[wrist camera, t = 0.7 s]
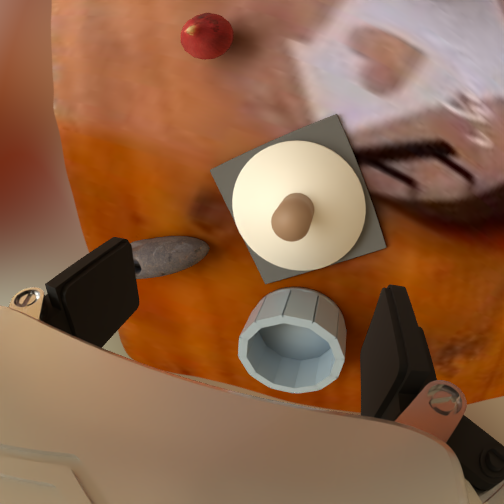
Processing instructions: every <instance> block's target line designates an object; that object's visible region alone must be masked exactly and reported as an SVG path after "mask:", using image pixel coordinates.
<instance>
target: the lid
mask: <svg viewBox="0 0 504 504" xmlns="http://www.w3.org/2000/svg"><path fill="white" fill-rule="evenodd" d="M232 208H233V215H234V219H235V222H236V225H237V228H238V230H239V232H240V234H241V236H242V237H243V239H244V240H245V242H246V243H247V244H248V246H249V247H250V248H251V249H252V250H253V251H254V252H255V253H257V254H258V255H259V256H260V257H262V258H263V259H265V260H266V261H268V262H270V263H272V264H274V265H276V266H279V267H282V268H286V269H290V270H297V271H307V270H315V269H319V268H323V267H325V266H328V265H330V264H332V263H334V262H336V261H338V260H339V259H340V258H342V257H343V256H344V255H345V254H347V253H348V252H349V251H350V249H351V248H352V247H353V246H354V245H355V243H356V241H357V240H358V238H359V236H360V234H361V231H362V229H363V225H364V221H365V214H366V204H365V197H364V193H363V189H362V186H361V183H360V181H359V179H358V177H357V175H356V173H355V172H354V170H353V169H352V167H351V166H350V165H349V164H348V163H347V162H346V161H345V160H344V159H343V158H342V157H341V156H340V155H339V154H337V153H336V152H334V151H333V150H331V149H329V148H327V147H325V146H323V145H320V144H317V143H314V142H309V141H299V140H295V141H286V142H281V143H277V144H275V145H272V146H269V147H267V148H265V149H263V150H262V151H260V152H259V153H257V154H256V155H254V156H253V157H252V158H251V159H250V160H249V161H248V162H247V163H246V165H245V166H244V167H243V169H242V170H241V172H240V174H239V176H238V178H237V180H236V183H235V187H234V190H233V198H232Z"/></svg>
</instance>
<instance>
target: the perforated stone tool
mask: <svg viewBox="0 0 504 504" xmlns="http://www.w3.org/2000/svg"><path fill="white" fill-rule="evenodd" d="M130 244H131V246H132V251H133V260H134V268H135V275H136V279H142V278H153V277H160V276H164V275H168V274H172V273H176V272H178V271H181V270H184V269H186V268H188V267H190V266H193V265H194V264H196V263H198V262H199V261H200V260H201V259H203V258H204V257H205V256H206V255H207V253H208V251H209V249H210V248H209V246H208V244H207V243H206V242H204V241H202V240H200V239H197V238H193V237H188V236H168V237H158V238H154V239H145V240H140V241H135V242H132V243H130Z"/></svg>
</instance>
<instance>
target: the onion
mask: <svg viewBox="0 0 504 504" xmlns="http://www.w3.org/2000/svg"><path fill="white" fill-rule="evenodd" d="M232 41H233V30H232V27H231V25H230V23H229V22H228V21H227V20H226V19H225V18H223V17H222V16H220V15H217V14H212V13H204V14H200V15H197V16H195V17H194V18H192V19H190V20H189V21H187V23H186V24H185V25H184V26H183V29H182V32H181V44H182V45H183V47H184V49H185V51H186V52H188V53H189V54H190V55H192V56H193V57H196V58H200V59H213V58H216V57H218V56H221V55H223V54H224V53H225V52H226V51H227V50H228V49H229V48H230V46H231V43H232Z"/></svg>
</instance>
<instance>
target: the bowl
mask: <svg viewBox="0 0 504 504" xmlns="http://www.w3.org/2000/svg"><path fill="white" fill-rule="evenodd" d="M346 332H347V331H346V327H345V320H344V317H343V314H342V312H341V310H340V309H339V307H338V306H337V305H336V304H335V303H334V302H333V301H332V300H331V299H330V298H329V297H327V296H326V295H324V294H322V293H320V292H318V291H315V290H313V289H309V288H304V287H285V288H280V289H277V290H275V291H273V292H271V293H269V294H267V295H266V296H264V297H263V298H262V299H261V300H260V302H259V303H258V304H257V306H256V307H255V309H254V310H253V311H252V313H251V315H250V317H249V319H248V321H247V323H246V325H245V327H244V329H243V331H242V333H241V335H240V337H239V349H238V356H239V359H240V360H241V362H242V364H243V365H244V367H245V368H246V370H247V371H248V373H249V374H251V376H252V377H254V378H255V379H257V380H258V381H260V382H261V383H263V384H265V385H266V386H268V387H269V388H270V387H271V388H272V389H276V390H281V391H285V392H290V393H294V392H295V393H303V392H311V391H318V390H320V389H322V388H324V387H325V386H327V385H328V384H330V383H331V382H333V381H334V380H336V379H337V377H338V376H339V374H340V371H341V368H342V366H343V363H344V361H345V349H346Z"/></svg>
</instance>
